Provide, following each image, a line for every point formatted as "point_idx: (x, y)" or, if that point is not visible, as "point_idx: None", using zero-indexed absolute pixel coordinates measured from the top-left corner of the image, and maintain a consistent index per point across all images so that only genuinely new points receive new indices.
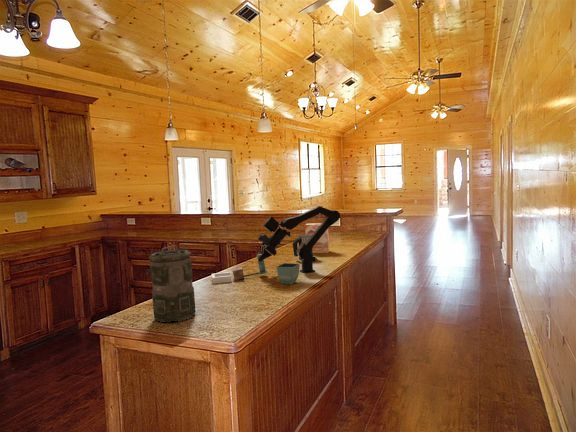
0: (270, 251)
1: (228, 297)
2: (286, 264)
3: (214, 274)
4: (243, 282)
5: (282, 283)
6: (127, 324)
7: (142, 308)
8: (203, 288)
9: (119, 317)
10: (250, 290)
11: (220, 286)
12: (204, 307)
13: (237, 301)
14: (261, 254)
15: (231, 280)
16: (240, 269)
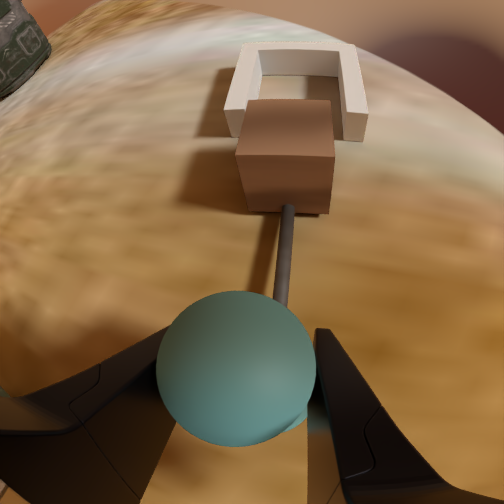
0: None
1: (21, 143)
2: None
3: (328, 50)
4: (163, 199)
5: (7, 394)
6: (57, 31)
7: (116, 10)
8: (187, 52)
9: (98, 8)
10: (19, 217)
11: (168, 96)
12: (16, 103)
13: None
14: (126, 379)
15: (230, 131)
16: (238, 140)
